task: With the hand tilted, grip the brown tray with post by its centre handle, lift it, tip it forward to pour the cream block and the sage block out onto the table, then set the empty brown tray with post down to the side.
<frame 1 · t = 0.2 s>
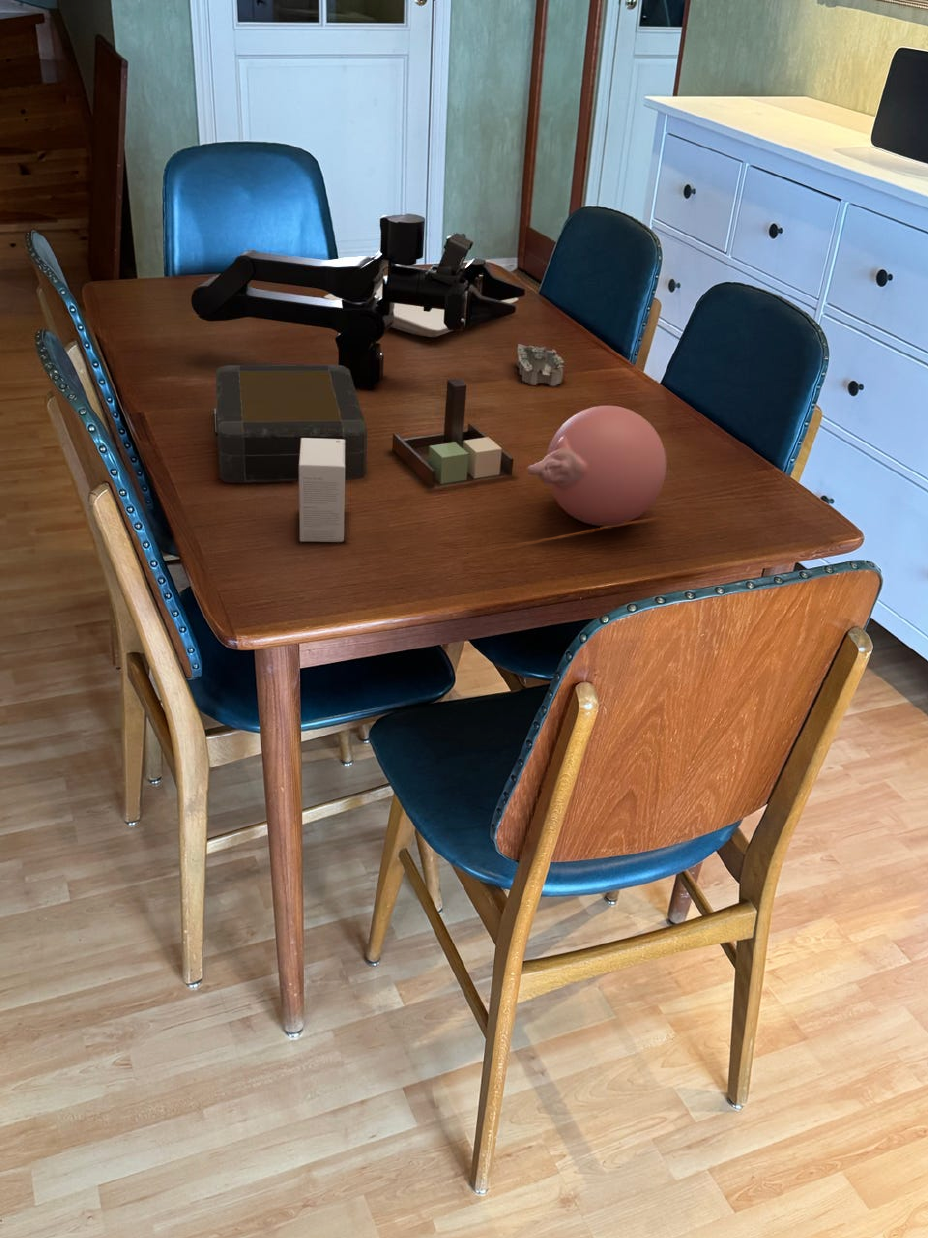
hand: (520, 300, 170), 17 cm above the table, tool horizontal, fingers open, 9 cm apart
balloon: (583, 523, 146), on the table
brown tray with post: (451, 465, 158), on the table, touching cream block, sage block
cream block: (480, 470, 155), point 1 cm above the table, touching brown tray with post
cash box: (287, 446, 160), on the table
small box: (322, 528, 140), on the table
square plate: (421, 315, 214), on the table
grey lumpy piece: (538, 375, 191), on the table
sage block: (447, 475, 153), point 1 cm above the table, touching brown tray with post
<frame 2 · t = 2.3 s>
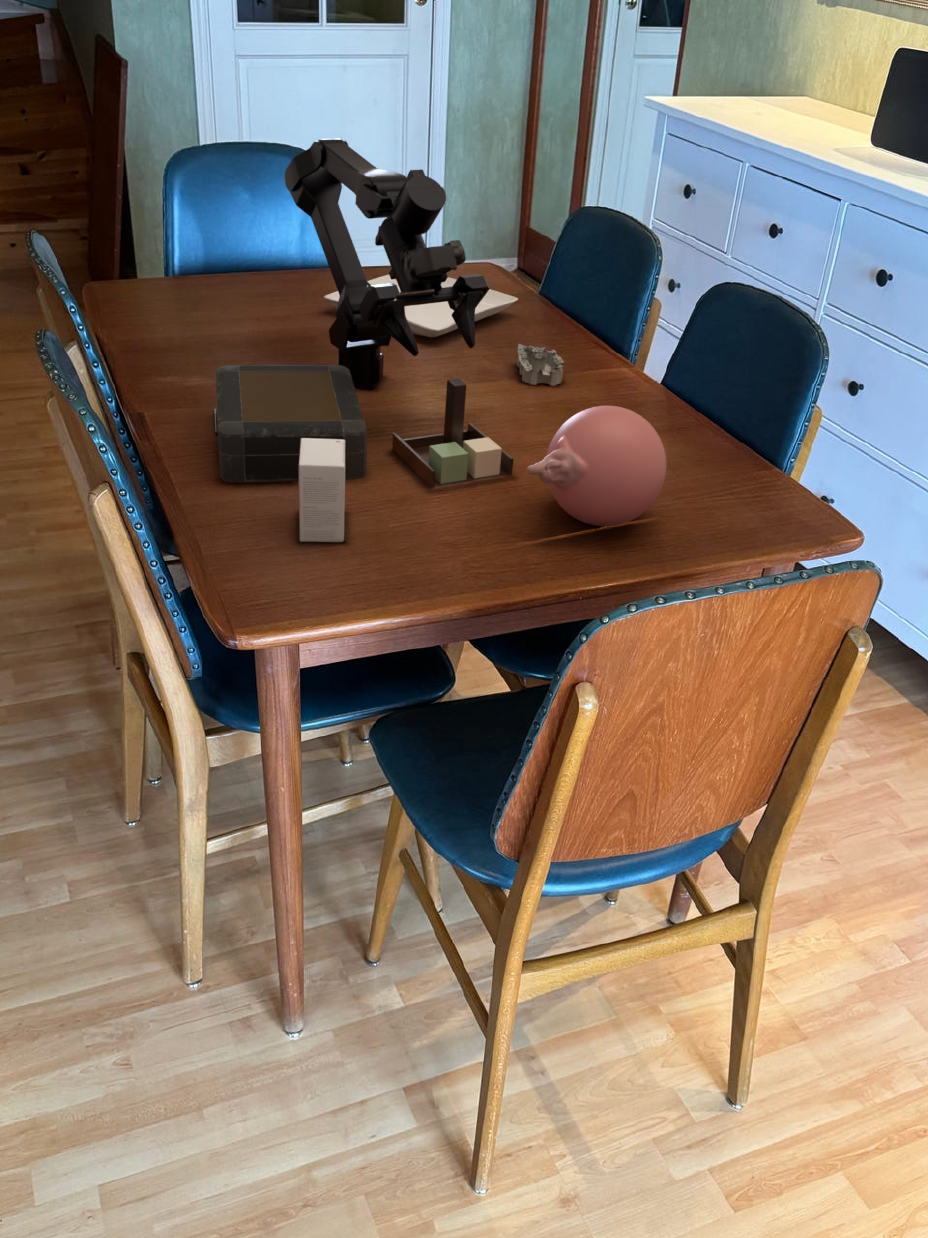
hand: (444, 350, 156), 14 cm above the table, tool tilted 50°, fingers open, 9 cm apart
nothing on the table moved.
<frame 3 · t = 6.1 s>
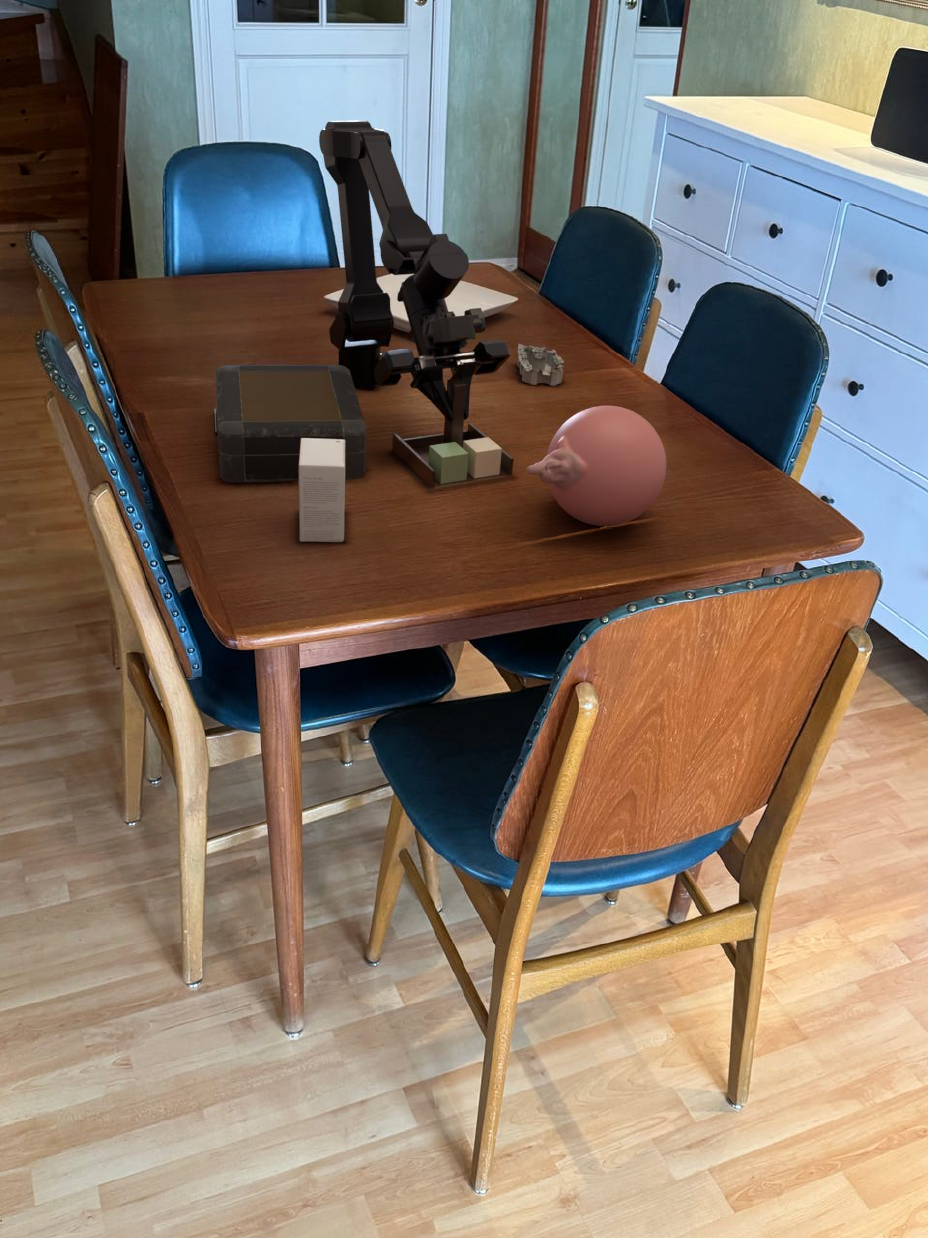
hand: (458, 419, 152), 8 cm above the table, tool tilted 45°, fingers closed on brown tray with post
brown tray with post: (451, 465, 158), on the table, touching cream block, gripper, sage block
everything else where it was.
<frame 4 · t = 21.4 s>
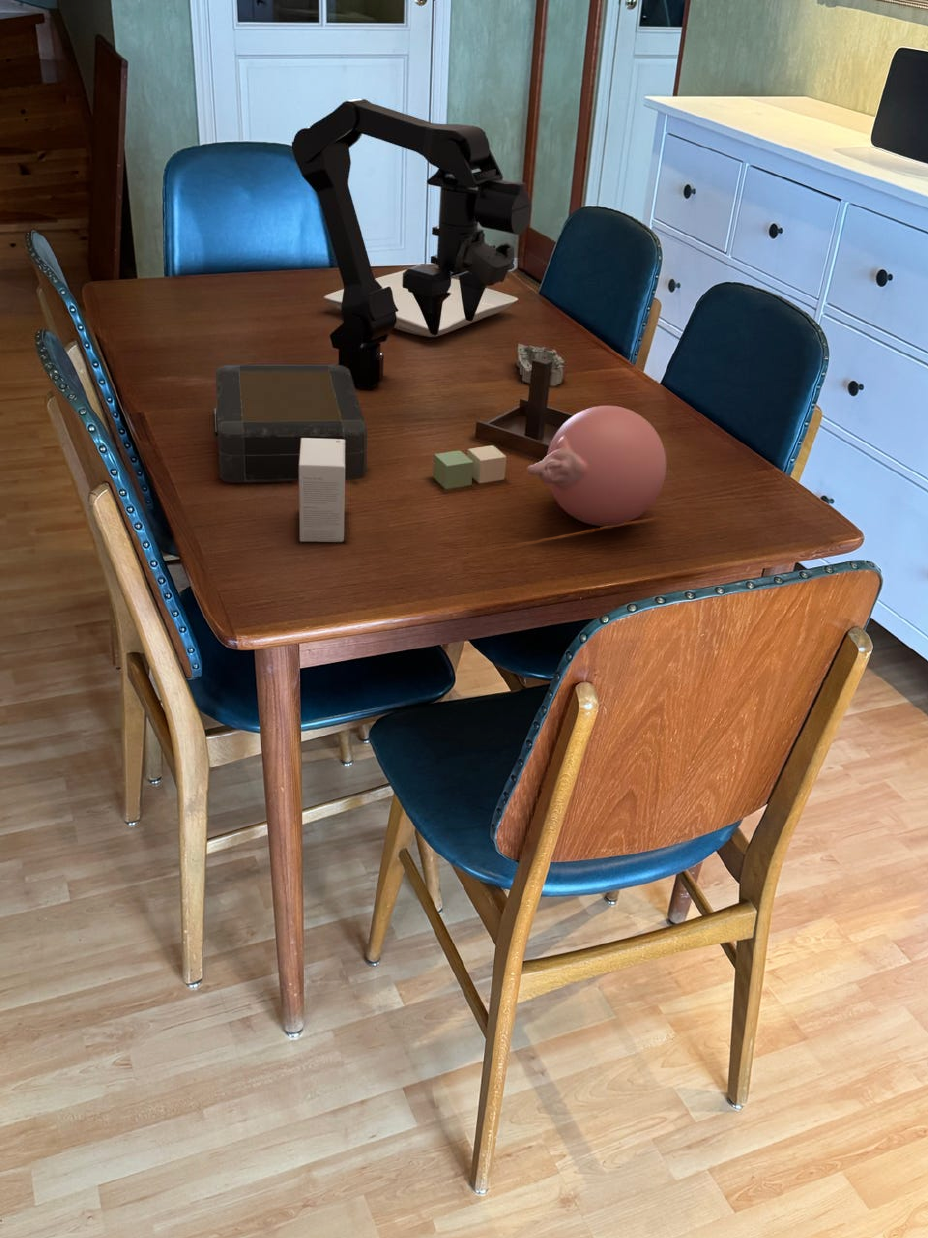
hand: (451, 327, 168), 13 cm above the table, tool pointing down, fingers open, 9 cm apart
brown tray with post: (533, 440, 167), on the table
cream block: (479, 459, 155), point 2 cm above the table, tilted 90°
sage block: (446, 465, 153), point 2 cm above the table, tilted 90°
everything else where it was.
at the end: cream block touching table; sage block touching table; brown tray with post inside the target area (0.1 cm from its centre), on the table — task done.
